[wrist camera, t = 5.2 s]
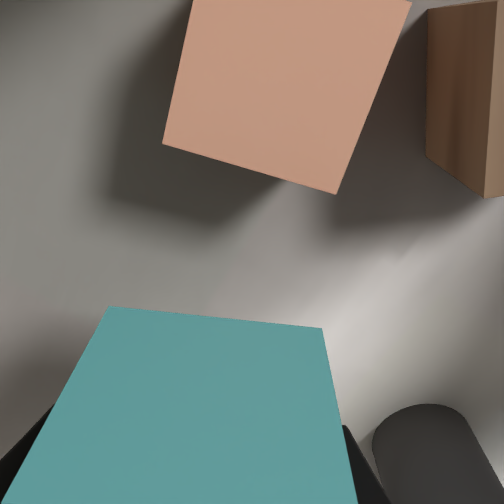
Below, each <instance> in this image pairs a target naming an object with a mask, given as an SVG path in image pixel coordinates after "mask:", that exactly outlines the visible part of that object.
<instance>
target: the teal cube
mask: <svg viewBox="0 0 504 504" xmlns="http://www.w3.org/2000/svg"><path fill="white" fill-rule="evenodd" d="M1 504H358V501H357V497H356V492H355V487H354V482H353V477H352V472H351V468H350V463H349V458H348V453H347V448H346V443H345V438H344V434H343V429H342V424H341V419H340V414H339V409H338V405H337V400H336V395H335V390H334V385H333V380H332V375H331V371H330V366H329V361H328V356H327V351H326V346H325V342H324V337H323V332H322V328H313V327H304V326H294V325H285V324H275V323H266V322H256V321H247V320H237V319H228V318H218V317H209V316H199V315H189V314H180V313H170V312H161V311H151V310H142V309H132V308H123V307H113V306H109V307H108V309H107V310H106V312H105V314H104V316H103V318H102V319H101V321H100V323H99V325H98V327H97V329H96V330H95V332H94V334H93V336H92V338H91V340H90V341H89V343H88V345H87V347H86V349H85V350H84V352H83V354H82V356H81V358H80V360H79V361H78V363H77V365H76V367H75V369H74V371H73V372H72V374H71V376H70V378H69V380H68V382H67V383H66V385H65V387H64V389H63V391H62V392H61V394H60V396H59V398H58V400H57V402H56V403H55V405H54V407H53V409H52V411H51V413H50V414H49V416H48V418H47V420H46V422H45V423H44V425H43V427H42V429H41V431H40V433H39V434H38V436H37V438H36V440H35V442H34V444H33V445H32V447H31V449H30V451H29V453H28V455H27V456H26V458H25V460H24V462H23V464H22V465H21V467H20V469H19V471H18V473H17V475H16V476H15V478H14V480H13V482H12V484H11V486H10V487H9V489H8V491H7V493H6V495H5V496H4V498H3V500H2V502H1Z"/></svg>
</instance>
